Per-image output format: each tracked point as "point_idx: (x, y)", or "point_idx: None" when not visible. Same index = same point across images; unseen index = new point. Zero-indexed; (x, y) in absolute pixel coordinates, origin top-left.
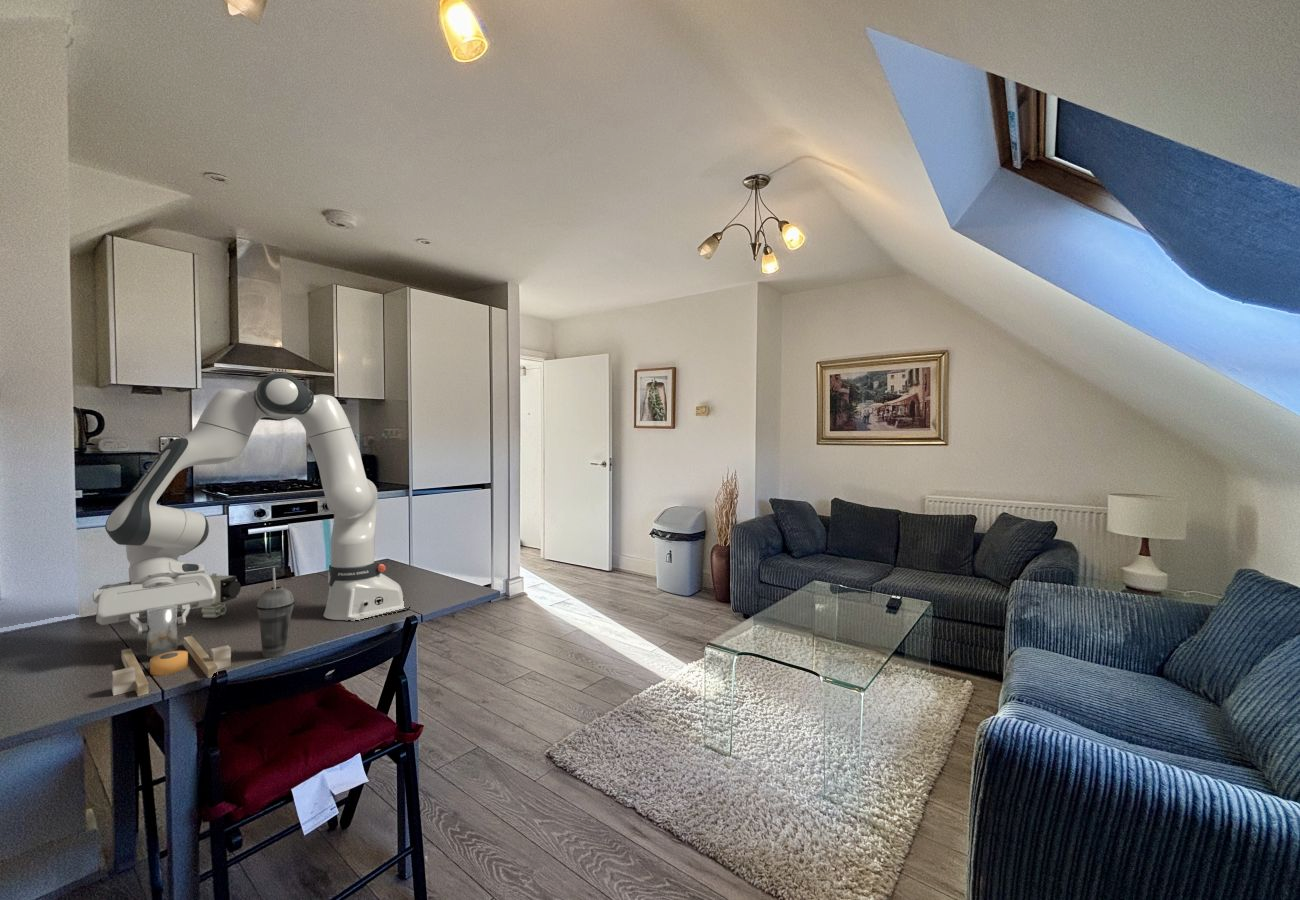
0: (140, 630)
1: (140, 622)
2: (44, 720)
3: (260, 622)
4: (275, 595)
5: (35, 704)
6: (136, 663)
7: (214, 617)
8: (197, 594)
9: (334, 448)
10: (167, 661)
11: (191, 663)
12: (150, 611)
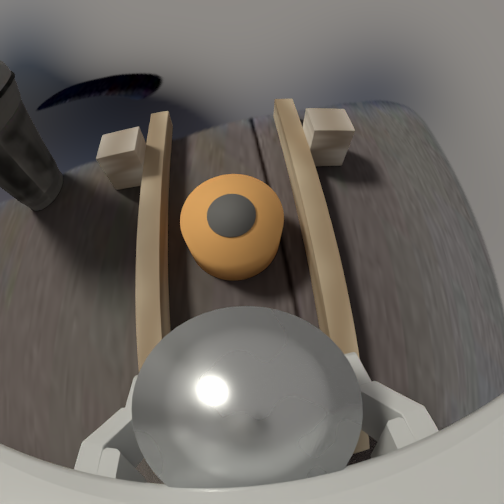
0: (348, 353)
1: (365, 391)
2: (400, 121)
3: (23, 119)
4: None
5: (447, 199)
6: (319, 255)
7: None
8: (5, 491)
9: None
10: (238, 176)
11: (179, 248)
12: (337, 347)
